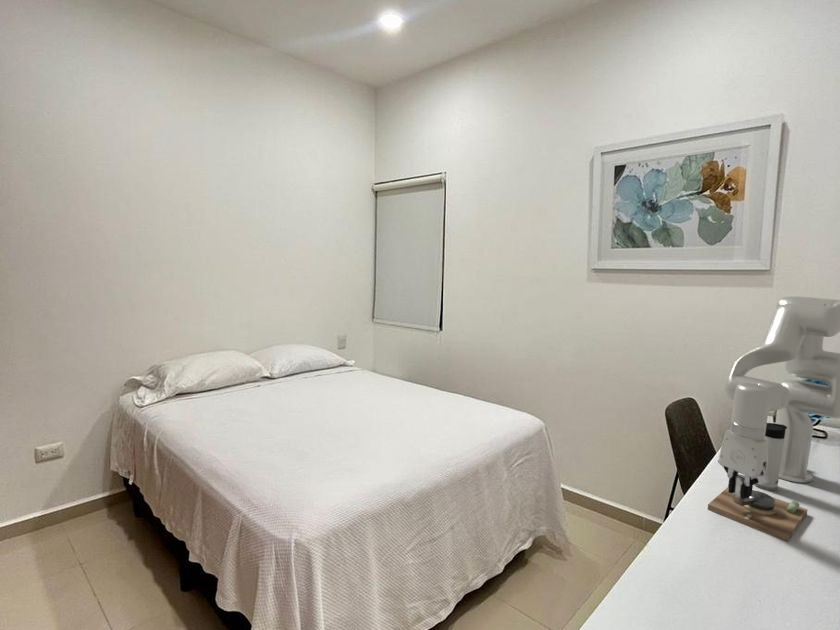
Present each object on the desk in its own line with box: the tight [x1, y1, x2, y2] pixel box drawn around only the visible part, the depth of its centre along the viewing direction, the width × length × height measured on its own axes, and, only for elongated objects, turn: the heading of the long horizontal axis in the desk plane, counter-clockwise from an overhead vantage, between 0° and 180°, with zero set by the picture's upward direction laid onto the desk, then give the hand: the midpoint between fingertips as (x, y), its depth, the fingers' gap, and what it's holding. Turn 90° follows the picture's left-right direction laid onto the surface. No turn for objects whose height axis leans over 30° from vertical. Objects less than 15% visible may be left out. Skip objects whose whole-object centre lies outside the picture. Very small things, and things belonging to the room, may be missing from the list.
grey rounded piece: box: [733, 473, 775, 510], centre depth 125 cm, size 7×13×9 cm, turn 108°
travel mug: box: [753, 422, 787, 492], centre depth 140 cm, size 6×7×20 cm
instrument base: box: [707, 486, 808, 543], centre depth 127 cm, size 20×18×3 cm
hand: (739, 494), depth 124 cm, fingers closed on grey rounded piece, 2 cm apart
